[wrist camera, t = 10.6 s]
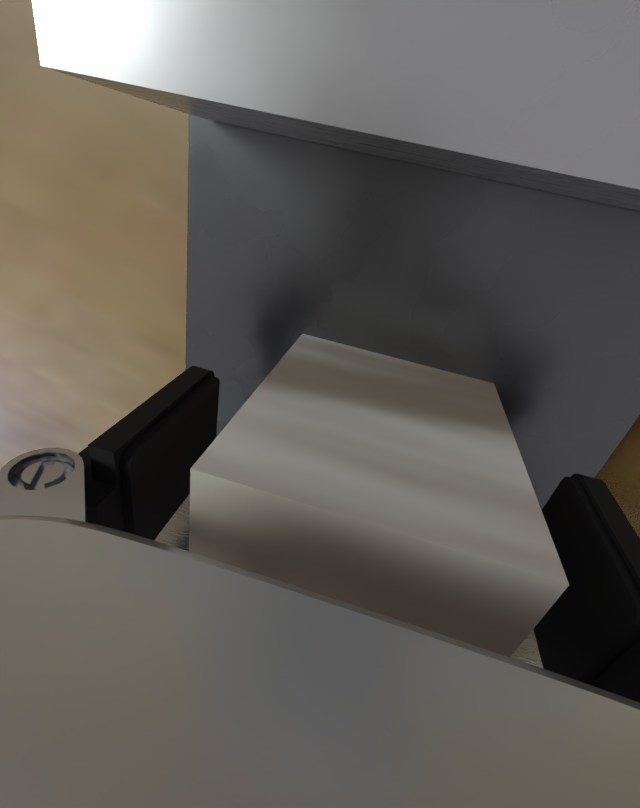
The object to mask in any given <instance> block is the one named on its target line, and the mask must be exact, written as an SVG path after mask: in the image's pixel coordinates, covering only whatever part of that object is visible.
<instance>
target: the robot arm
mask: <svg viewBox="0 0 640 808" xmlns="http://www.w3.org/2000/svg"><path fill="white" fill-rule="evenodd" d="M219 386H220V381H219V378H217V377H215V375H214V372H213V371H211V370H207V369H204V368H200V367H197V366H191V367H189V368H188V369H187V370H185V371H184V372H183V373H182V374H180V375H179V376H178V377H176V378H175V379H174V380H172V381H171V382H170V383H168V384H167V385H166V386H165V387H163V388H162V389H161V390H159V391H158V392H157V393H155V394H154V395H153V396H151V397H150V398H149V399H148V400H146V401H145V402H144V403H142V404H141V405H140V406H138V407H137V408H136V409H135V410H133V411H132V412H131V413H129V414H128V415H127V416H125V417H124V418H123V419H121V420H120V421H119V422H118V423H116V424H115V425H114V426H112V427H111V428H110V429H108V430H107V431H106V432H104V433H103V434H102V435H101V436H99V437H98V438H97V439H95V440H94V441H93V442H91V443H90V444H89V445H88V447H86V448H85V449H84V450H83V451H81V452H80V453H79V454H77V453H76V452H74V451H71V450H69V449H63V448H43V449H38V450H33V451H30V452H27V453H24V454H21V455H19V456H17V457H16V458H14V459H12V460H10V461H9V462H8V463H7V464H6V465H5V466H4V467H2V468H1V470H0V808H640V539H639V537H638V536H637V534H636V532H635V531H634V529H633V528H632V526H631V524H630V523H629V521H628V520H627V518H626V516H625V515H624V513H623V512H622V510H621V508H620V507H619V505H618V504H617V502H616V500H615V499H614V497H613V496H612V494H611V492H610V491H609V489H608V488H607V486H606V484H605V483H604V482H603V481H602V480H599V479H596V478H592V477H589V476H585V475H582V474H578V473H576V474H573V475H572V476H571V477H568V476H567V477H564V478H563V479H562V480H561V482H560V483H559V485H558V486H557V488H556V489H555V491H554V492H553V494H552V495H551V497H550V498H549V500H548V501H547V503H546V504H545V506H544V507H543V509H542V513H543V516H544V518H545V521H546V524H547V526H548V529H549V532H550V534H551V537H552V540H553V542H554V545H555V548H556V550H557V553H558V556H559V558H560V561H561V564H562V567H563V569H564V572H565V575H566V577H567V580H568V583H569V586H568V587H567V588H566V590H565V591H564V592H563V593H562V595H561V596H560V597H559V598H558V599H557V601H556V602H555V603H554V604H553V606H552V607H551V608H550V609H549V610H548V612H547V613H546V614H545V615H544V617H543V618H542V619H541V620H540V621H539V623H538V624H537V625H536V626H535V628H534V629H533V630H534V634H535V638H536V642H537V646H538V650H539V654H540V657H541V661H542V665H543V668H540V667H537V666H534V665H531V664H528V663H525V662H522V661H519V660H516V659H513V658H510V657H507V656H504V655H501V654H498V653H495V652H492V651H489V650H486V649H483V648H480V647H477V646H474V645H471V644H469V643H466V642H463V641H460V640H457V639H454V638H451V637H448V636H445V635H442V634H439V633H436V632H433V631H430V630H427V629H424V628H421V627H418V626H415V625H412V624H409V623H406V622H403V621H400V620H397V619H394V618H391V617H388V616H385V615H382V614H379V613H376V612H373V611H370V610H367V609H364V608H361V607H358V606H355V605H352V604H349V603H346V602H343V601H340V600H337V599H334V598H331V597H328V596H324V595H321V594H318V593H315V592H312V591H309V590H306V589H303V588H300V587H297V586H294V585H291V584H288V583H285V582H282V581H279V580H276V579H273V578H270V577H267V576H263V575H260V574H257V573H254V572H251V571H248V570H245V569H242V568H239V567H236V566H233V565H230V564H227V563H224V562H220V561H217V560H214V559H211V558H208V557H205V556H202V555H199V554H196V553H193V552H189V551H186V550H183V549H180V548H176V547H173V546H170V545H167V544H163V543H160V542H157V541H154V540H155V539H156V537H157V536H158V535H159V533H160V532H161V531H162V529H163V528H164V527H165V525H166V524H167V523H168V522H169V520H170V519H171V518H172V516H173V515H174V514H175V512H176V511H177V510H178V508H179V507H180V506H181V505H182V503H183V502H184V501H185V499H186V498H187V497H188V495H189V494H190V469H191V467H192V466H193V465H194V464H195V463H196V461H197V460H198V459H199V458H200V457H201V455H202V454H203V453H204V452H205V451H206V449H207V448H208V447H209V446H210V444H211V443H212V442H213V441H214V440H215V438H216V433H217V417H218V402H219Z"/></svg>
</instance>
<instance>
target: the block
mask: <svg viewBox="0 0 640 808" xmlns="http://www.w3.org/2000/svg"><path fill="white" fill-rule="evenodd" d="M189 552H193V553H196V554H199V555H202V556H205V557H208V558H211V559H214V560H217V561H220V562H224V563H227V564H230V565H233V566H236V567H239V568H242V569H245V570H248V571H251V572H254V573H257V574H260V575H263V576H267V577H270V578H273V579H276V580H279V581H282V582H285V583H288V584H291V585H294V586H297V587H300V588H303V589H306V590H309V591H312V592H315V593H318V594H321V595H324V596H328V597H331V598H334V599H337V600H340V601H343V602H346V603H349V604H352V605H355V606H358V607H361V608H364V609H367V610H370V611H373V612H376V613H379V614H382V615H385V616H388V617H391V618H394V619H397V620H400V621H403V622H406V623H409V624H412V625H415V626H418V627H421V628H424V629H427V630H430V631H433V632H436V633H439V634H442V635H445V636H448V637H451V638H454V639H457V640H460V641H463V642H466V643H469V644H471V645H474V646H477V647H480V648H483V649H486V650H489V651H492V652H495V653H498V654H501V655H504V656H507V657H511V656H512V654H513V653H514V652H515V651H516V650H517V648H518V647H519V646H520V645H521V643H522V642H523V641H524V640H525V639H526V637H527V636H528V635H529V634H530V632H531V631H532V630H533V629H534V628H535V626H536V625H537V624H538V623H539V621H540V620H541V619H542V618H543V617H544V615H545V614H546V613H547V612H548V610H549V609H550V608H551V607H552V606H553V604H554V603H555V602H556V601H557V599H558V598H559V597H560V596H561V595H562V593H563V592H564V591H565V590H566V588H567V587H568V586H569V583H568V580H567V577H566V575H565V572H564V569H563V567H562V564H561V561H560V558H559V556H558V553H557V550H556V548H555V545H554V542H553V540H552V537H551V534H550V532H549V529H548V526H547V524H546V521H545V518H544V516H543V513H542V510H541V508H540V505H539V502H538V500H537V497H536V494H535V492H534V489H533V486H532V484H531V481H530V478H529V476H528V473H527V470H526V468H525V465H524V462H523V460H522V457H521V454H520V452H519V449H518V446H517V443H516V441H515V438H514V435H513V433H512V430H511V427H510V425H509V422H508V419H507V417H506V414H505V411H504V409H503V406H502V403H501V401H500V398H499V395H498V393H497V390H496V387H495V385H494V383H490V382H486V381H482V380H479V379H475V378H471V377H467V376H463V375H459V374H456V373H452V372H448V371H444V370H440V369H436V368H433V367H429V366H425V365H421V364H417V363H413V362H410V361H406V360H402V359H398V358H394V357H390V356H387V355H383V354H379V353H375V352H371V351H367V350H363V349H360V348H356V347H352V346H348V345H344V344H340V343H337V342H333V341H329V340H325V339H321V338H317V337H314V336H310V335H306V334H302V335H301V336H300V337H299V338H298V339H297V341H296V342H295V343H294V344H293V346H292V347H291V348H290V349H289V350H288V352H287V353H286V354H285V355H284V356H283V358H282V359H281V360H280V361H279V362H278V364H277V365H276V366H275V367H274V368H273V370H272V371H271V372H270V373H269V374H268V376H267V377H266V378H265V379H264V381H263V382H262V383H261V384H260V385H259V387H258V388H257V389H256V390H255V391H254V393H253V394H252V395H251V396H250V397H249V399H248V400H247V401H246V402H245V403H244V405H243V406H242V407H241V408H240V409H239V411H238V412H237V413H236V414H235V416H234V417H233V418H232V419H231V420H230V422H229V423H228V424H227V425H226V426H225V428H224V429H223V430H222V431H221V432H220V434H219V435H218V436H217V437H216V438H215V440H214V441H213V442H212V443H211V444H210V446H209V447H208V448H207V449H206V451H205V452H204V453H203V454H202V455H201V457H200V458H199V459H198V460H197V461H196V463H195V464H194V465H193V466H192V467H191V469H190V514H189Z"/></svg>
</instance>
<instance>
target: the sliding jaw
mask: <svg viewBox="0 0 640 808" xmlns="http://www.w3.org/2000/svg"><path fill="white" fill-rule="evenodd" d="M32 5H33V12H34V20H35V27H36V35H37V42H38V49H39V57H40V64H41V66H43V67H46V68H50V69H53V70H56V71H59V72H62V73H65V74H68V75H71V76H74V77H77V78H80V79H83V80H86V81H89V82H93V83H96V84H99V85H102V86H105V87H108V88H111V89H114V90H117V91H120V92H123V93H126V94H129V95H132V96H136V97H139V98H142V99H145V100H148V101H151V102H154V103H157V104H160V105H163V106H166V107H169V108H172V109H175V110H178V111H182V112H185V113H188V114H191V115H194V116H197V117H200V118H203V119H208V120H212V121H217V122H222V123H226V124H231V125H236V126H241V127H245V128H250V129H255V130H259V131H264V132H269V133H274V134H278V135H283V136H288V137H292V138H297V139H302V140H307V141H311V142H316V143H321V144H325V145H330V146H335V147H340V148H344V149H349V150H354V151H358V152H363V153H368V154H373V155H377V156H382V157H387V158H391V159H396V160H401V161H406V162H410V163H415V164H420V165H424V166H429V167H434V168H439V169H443V170H448V171H453V172H457V173H462V174H467V175H471V176H476V177H481V178H486V179H490V180H495V181H500V182H504V183H509V184H514V185H519V186H523V187H528V188H533V189H537V190H542V191H547V192H552V193H556V194H561V195H566V196H570V197H575V198H580V199H585V200H589V201H594V202H599V203H603V204H608V205H613V206H618V207H622V208H627V209H632V210H636V211H640V0H32Z"/></svg>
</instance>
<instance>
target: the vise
mask: <svg viewBox="0 0 640 808" xmlns="http://www.w3.org/2000/svg"><path fill="white" fill-rule="evenodd" d="M302 334H306V335H310V336H314V337H317V338H321V339H325V340H329V341H333V342H337V343H340V344H344V345H348V346H352V347H356V348H360V349H363V350H367V351H371V352H375V353H379V354H383V355H387V356H390V357H394V358H398V359H402V360H406V361H410V362H413V363H417V364H421V365H425V366H429V367H433V368H436V369H440V370H444V371H448V372H452V373H456V374H459V375H463V376H467V377H471V378H475V379H479V380H482V381H486V382H490V383H494V385H495V387H496V390H497V393H498V395H499V398H500V401H501V403H502V406H503V409H504V411H505V414H506V417H507V419H508V422H509V425H510V427H511V430H512V433H513V435H514V438H515V441H516V443H517V446H518V449H519V452H520V454H521V457H522V460H523V462H524V465H525V468H526V470H527V473H528V476H529V478H530V481H531V484H532V486H533V489H534V492H535V494H536V497H537V500H538V502H539V505H540V508H541V510H542V509H543V507H544V506H545V504H546V503H547V501H548V500H549V498H550V497H551V495H552V494H553V492H554V491H555V489H556V488H557V486H558V485H559V483H560V482H561V480H562V479H563V478H564V477H567V476H568V477H571V476H572V475H573V474H576V473H578V474H582V475H585V476H589V477H592V478H595V477H596V475H597V474H598V472H599V471H600V470H601V468H602V467H603V465H604V464H605V463H606V461H607V460H608V458H609V457H610V456H611V454H612V453H613V452H614V450H615V449H616V447H617V446H618V445H619V443H620V442H621V440H622V439H623V438H624V436H625V435H626V433H627V432H628V431H629V429H630V428H631V426H632V425H633V424H634V422H635V421H636V419H637V418H638V417H639V415H640V211H636V210H632V209H627V208H622V207H618V206H613V205H608V204H603V203H599V202H594V201H589V200H585V199H580V198H575V197H570V196H566V195H561V194H556V193H552V192H547V191H542V190H537V189H533V188H528V187H523V186H519V185H514V184H509V183H504V182H500V181H495V180H490V179H486V178H481V177H476V176H471V175H467V174H462V173H457V172H453V171H448V170H443V169H439V168H434V167H429V166H424V165H420V164H415V163H410V162H406V161H401V160H396V159H391V158H387V157H382V156H377V155H373V154H368V153H363V152H358V151H354V150H349V149H344V148H340V147H335V146H330V145H325V144H321V143H316V142H311V141H307V140H302V139H297V138H292V137H288V136H283V135H278V134H274V133H269V132H264V131H259V130H255V129H250V128H245V127H241V126H236V125H231V124H226V123H222V122H217V121H212V120H208V119H203V118H200V117H197V116H194V115H191V114H189V169H188V242H187V315H186V370H187V369H188V368H189V367H191V366H197V367H200V368H204V369H207V370H211V371H213V372H214V375H215V377H217V378H219V381H220V386H219V402H218V417H217V433H216V437H217V436H218V435H219V434H220V432H221V431H222V430H223V429H224V428H225V426H226V425H227V424H228V423H229V422H230V420H231V419H232V418H233V417H234V416H235V414H236V413H237V412H238V411H239V409H240V408H241V407H242V406H243V405H244V403H245V402H246V401H247V400H248V399H249V397H250V396H251V395H252V394H253V393H254V391H255V390H256V389H257V388H258V387H259V385H260V384H261V383H262V382H263V381H264V379H265V378H266V377H267V376H268V374H269V373H270V372H271V371H272V370H273V368H274V367H275V366H276V365H277V364H278V362H279V361H280V360H281V359H282V358H283V356H284V355H285V354H286V353H287V352H288V350H289V349H290V348H291V347H292V346H293V344H294V343H295V342H296V341H297V339H298V338H299V337H300V336H301V335H302ZM189 514H190V494H189V495H188V497H187V498H186V499H185V501H184V502H183V503H182V505H181V506H180V507H179V508H178V510H177V511H176V512H175V514H174V515H173V516H172V518H171V519H170V520H169V522H168V523H167V524H166V525H165V527H164V528H163V529H162V531H161V532H160V533H159V535H158V536H157V537H156V539H155V540H154V541H157V542H160V543H163V544H167V545H170V546H173V547H176V548H180V549H183V550H186V551H189ZM510 658H513V659H516V660H519V661H522V662H525V663H528V664H531V665H534V666H537V667H540V668H543V665H542V661H541V657H540V654H539V650H538V646H537V642H536V638H535V634H534V630H532V631H531V632H530V634H529V635H528V636H527V637H526V639H525V640H524V641H523V642H522V643H521V645H520V646H519V647H518V648H517V650H516V651H515V652H514V653H513V654H512V656H511V657H510Z"/></svg>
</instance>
